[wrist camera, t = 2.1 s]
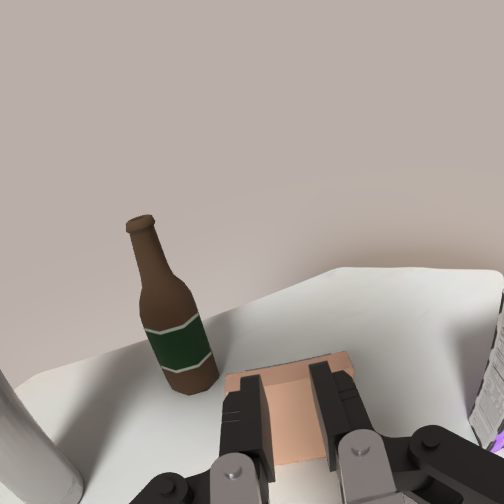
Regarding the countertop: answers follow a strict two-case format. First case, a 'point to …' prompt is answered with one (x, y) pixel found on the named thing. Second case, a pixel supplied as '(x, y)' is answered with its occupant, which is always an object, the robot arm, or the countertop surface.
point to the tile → (293, 406)
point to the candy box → (491, 395)
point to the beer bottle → (170, 315)
